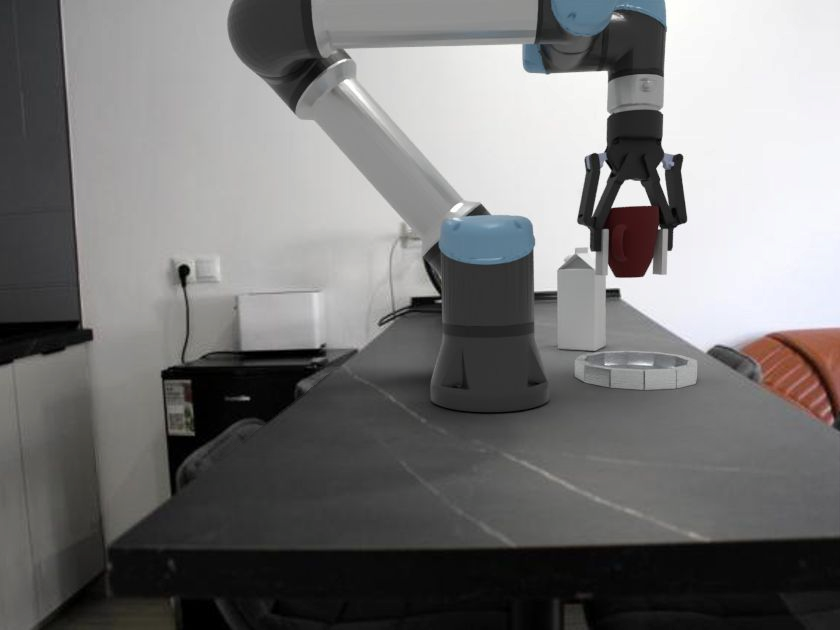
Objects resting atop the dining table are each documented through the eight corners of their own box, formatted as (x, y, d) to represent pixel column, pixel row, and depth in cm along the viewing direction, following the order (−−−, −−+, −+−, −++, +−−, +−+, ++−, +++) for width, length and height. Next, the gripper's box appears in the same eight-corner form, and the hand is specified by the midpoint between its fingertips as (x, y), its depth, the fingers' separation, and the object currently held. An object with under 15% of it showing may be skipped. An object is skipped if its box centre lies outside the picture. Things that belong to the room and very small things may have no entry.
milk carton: (606, 346, 119) (606, 246, 117) (594, 352, 113) (594, 247, 111) (569, 344, 122) (569, 247, 120) (557, 349, 116) (556, 248, 114)
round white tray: (599, 392, 81) (599, 373, 81) (562, 368, 98) (562, 353, 97) (720, 386, 82) (720, 368, 82) (663, 364, 99) (663, 349, 98)
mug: (654, 279, 83) (654, 203, 82) (592, 280, 86) (592, 207, 85) (661, 275, 92) (661, 207, 91) (605, 276, 96) (605, 211, 95)
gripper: (572, 105, 82) (569, 276, 85) (720, 108, 84) (713, 274, 87) (554, 117, 90) (552, 274, 92) (690, 119, 92) (685, 273, 94)
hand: (630, 274), depth 89 cm, fingers closed on mug, 8 cm apart
